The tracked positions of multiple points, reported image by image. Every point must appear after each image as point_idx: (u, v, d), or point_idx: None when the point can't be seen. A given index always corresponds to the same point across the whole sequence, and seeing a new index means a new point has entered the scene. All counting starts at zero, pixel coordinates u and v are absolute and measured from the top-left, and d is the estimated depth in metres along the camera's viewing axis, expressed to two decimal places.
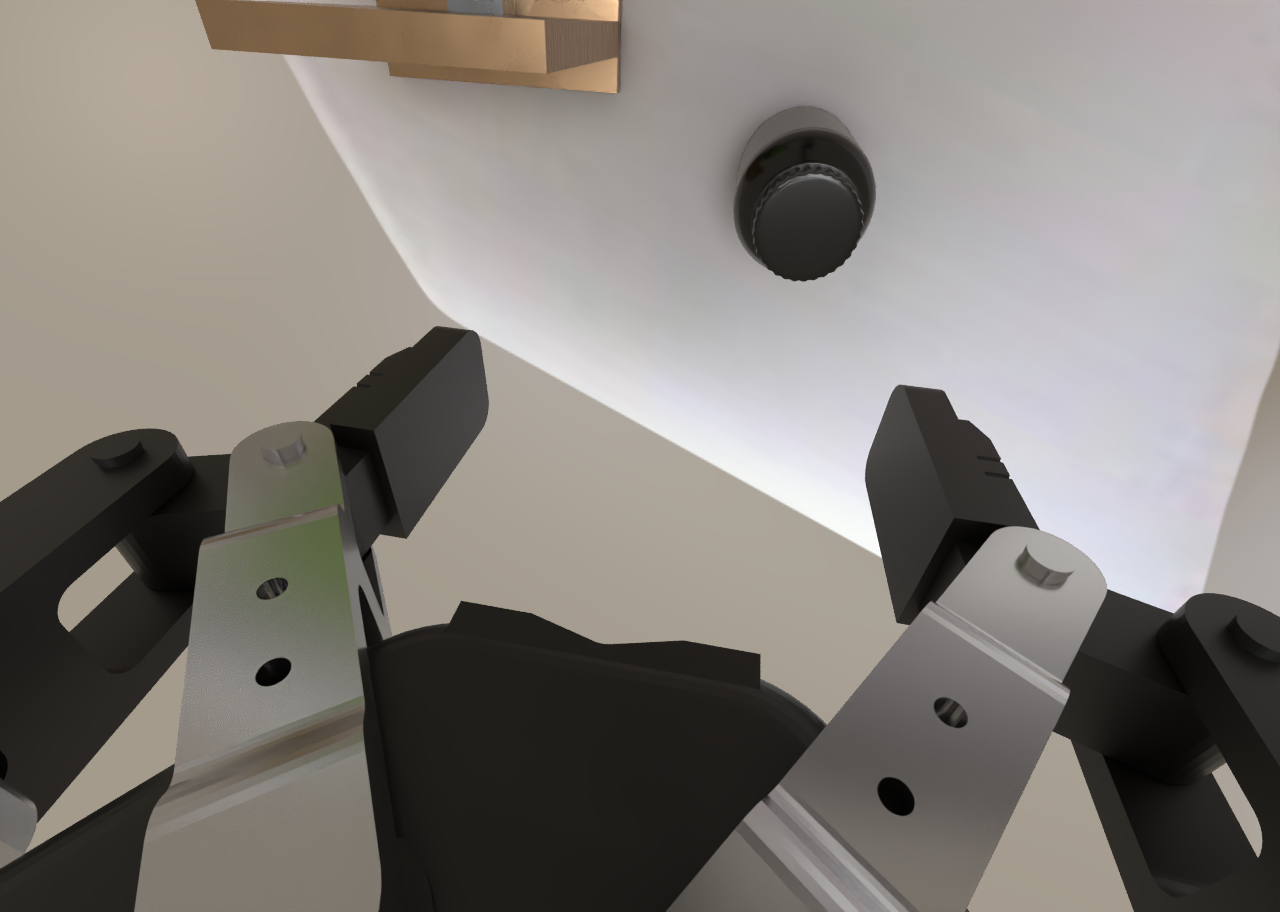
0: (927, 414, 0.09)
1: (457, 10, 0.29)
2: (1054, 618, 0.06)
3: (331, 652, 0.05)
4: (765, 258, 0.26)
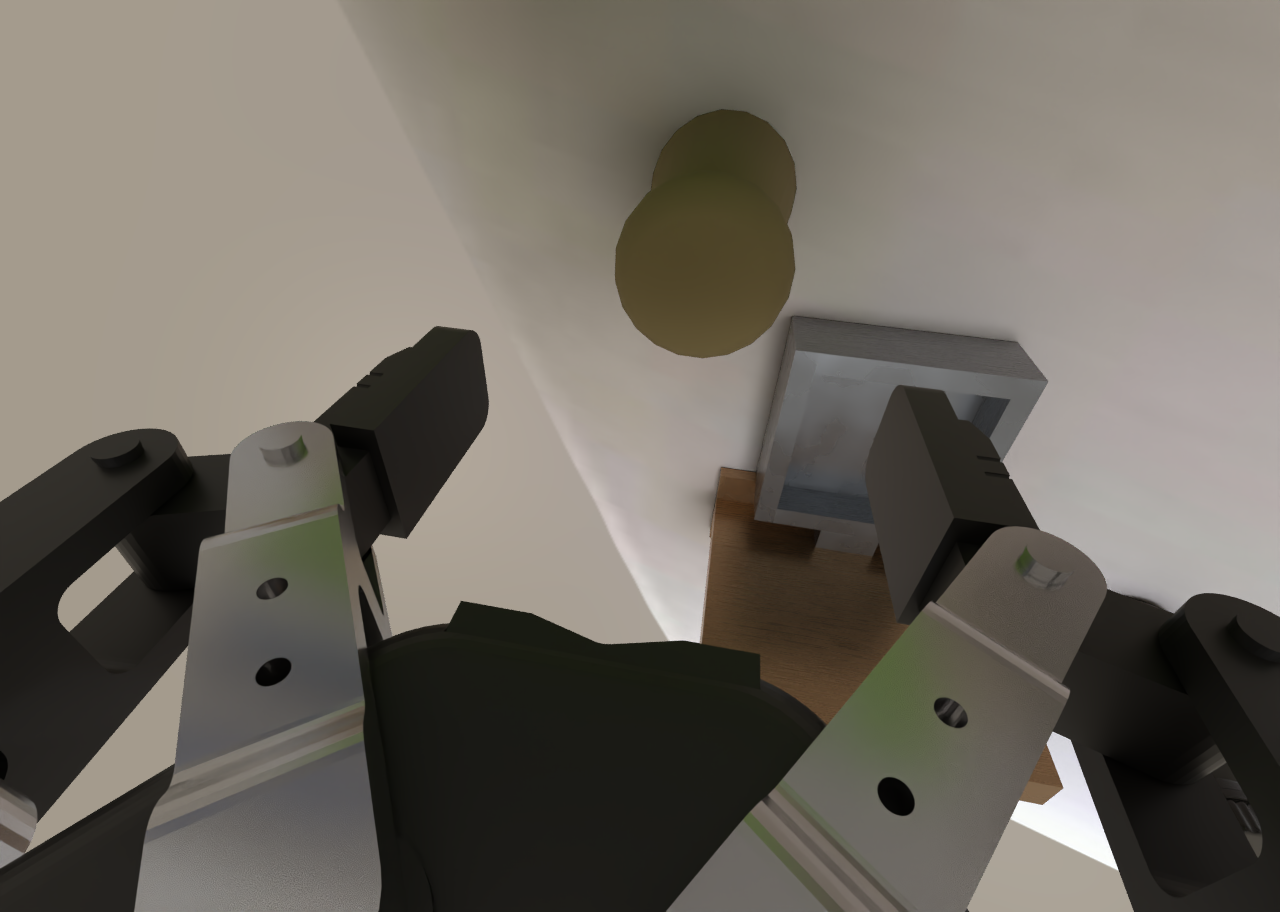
0: (927, 414, 0.09)
1: (825, 548, 0.30)
2: (1054, 618, 0.06)
3: (330, 653, 0.05)
4: None
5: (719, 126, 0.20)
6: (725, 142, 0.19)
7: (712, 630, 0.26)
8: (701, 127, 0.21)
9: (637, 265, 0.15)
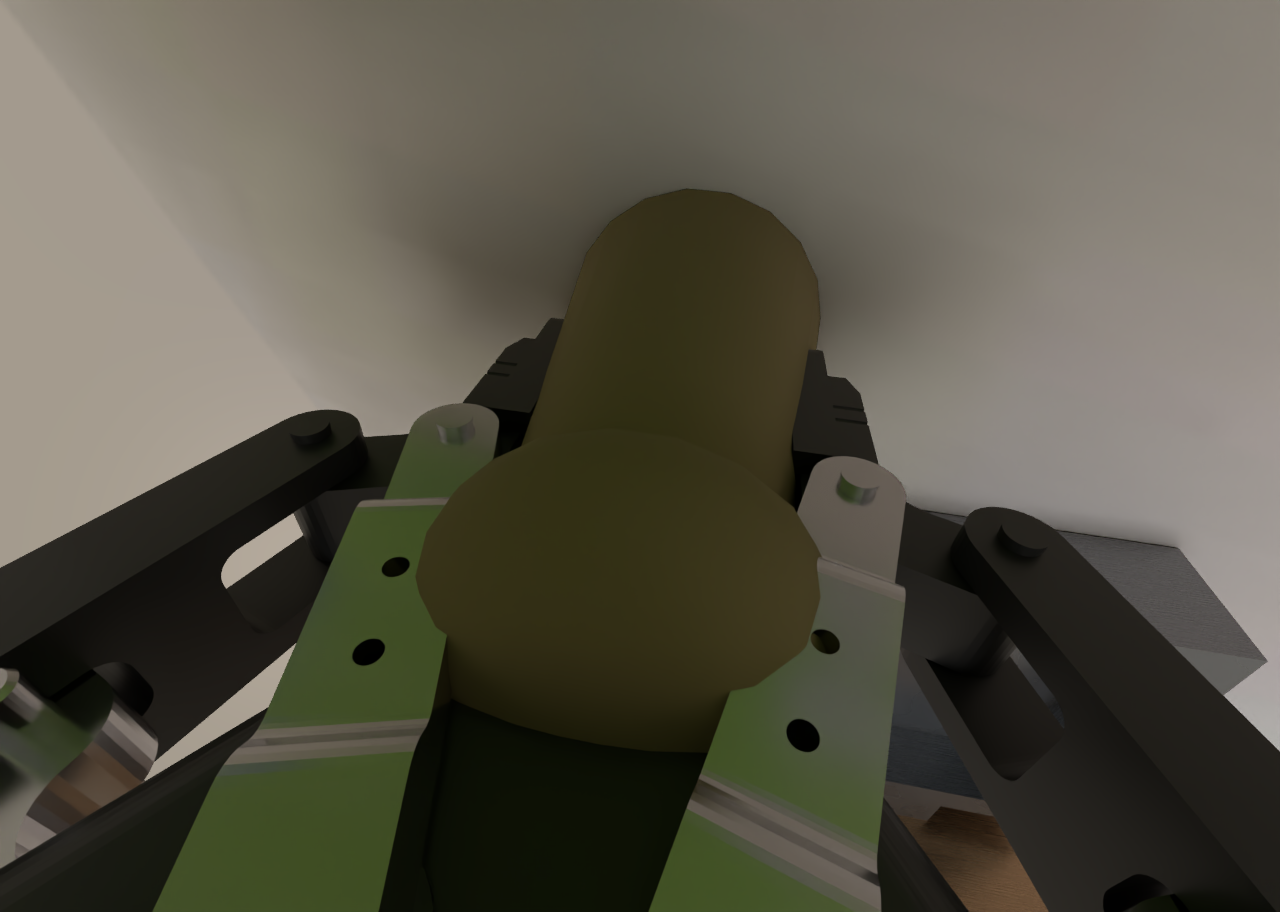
0: None
1: None
2: (849, 524, 0.07)
3: (419, 651, 0.05)
4: None
5: (678, 232, 0.11)
6: (684, 279, 0.09)
7: None
8: (646, 230, 0.11)
9: None
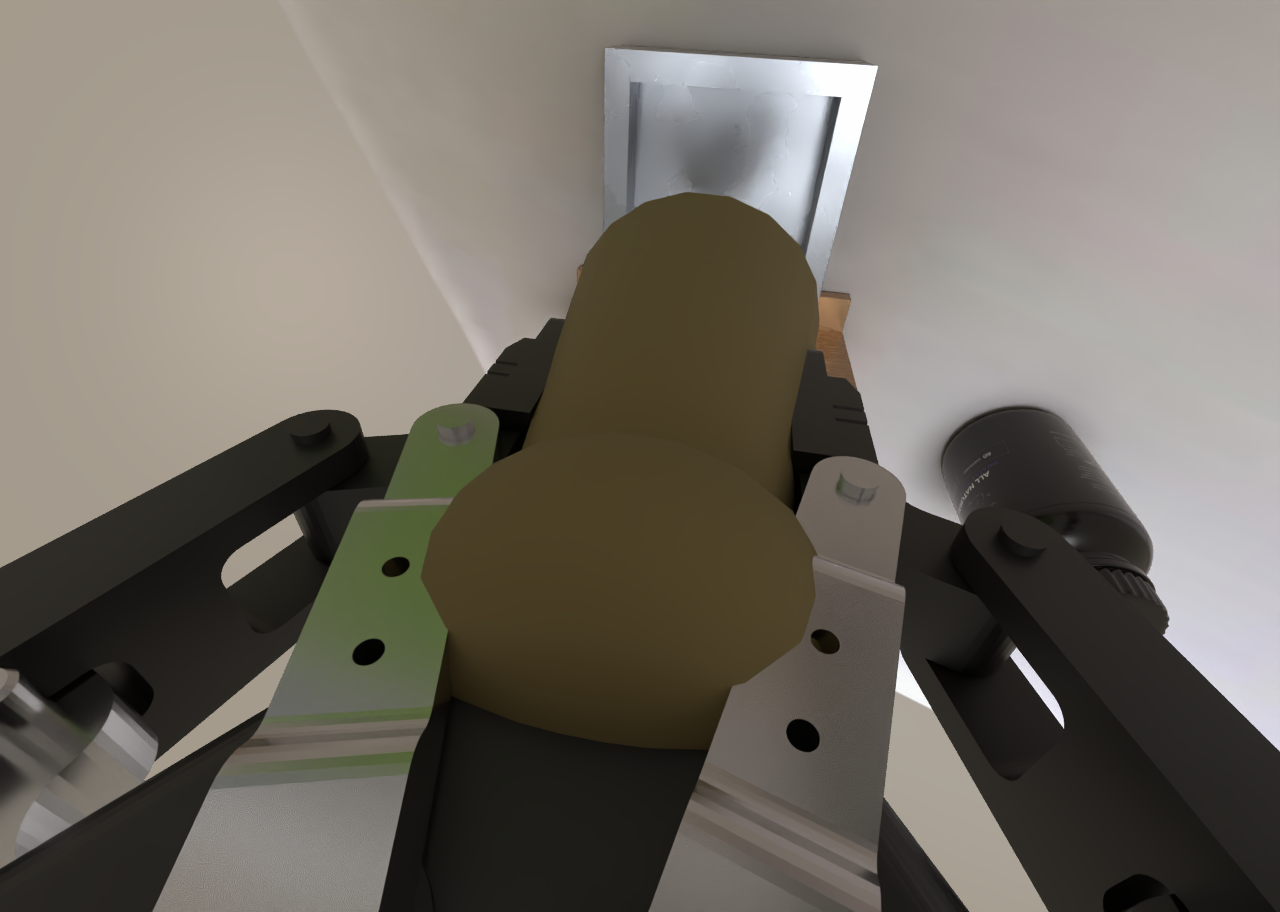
0: None
1: None
2: (849, 523, 0.07)
3: (421, 650, 0.05)
4: None
5: (678, 235, 0.11)
6: (684, 283, 0.09)
7: None
8: (646, 233, 0.11)
9: None
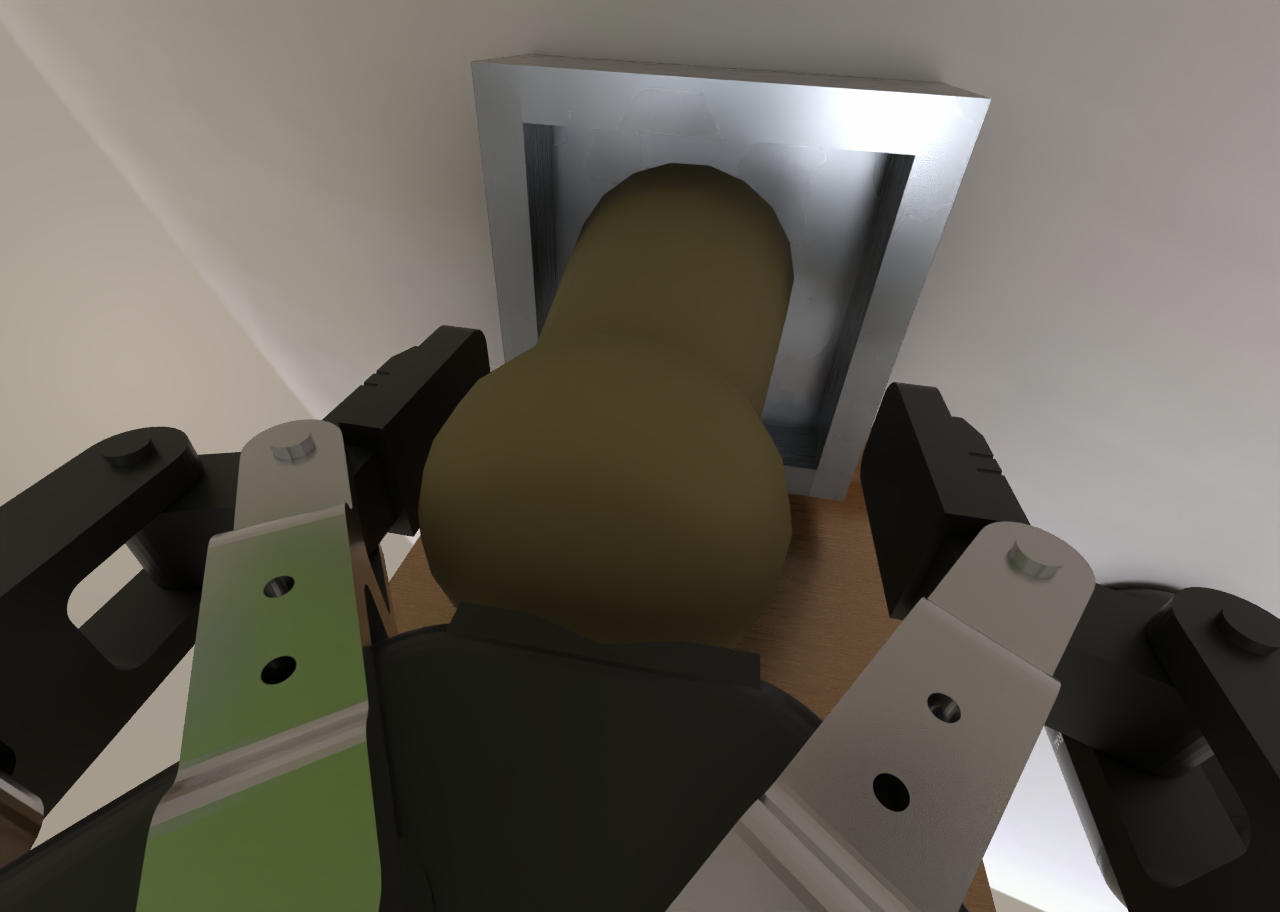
0: (920, 411, 0.09)
1: None
2: (1042, 611, 0.06)
3: (336, 652, 0.05)
4: None
5: (661, 197, 0.12)
6: (665, 233, 0.11)
7: None
8: (633, 197, 0.13)
9: (445, 553, 0.07)
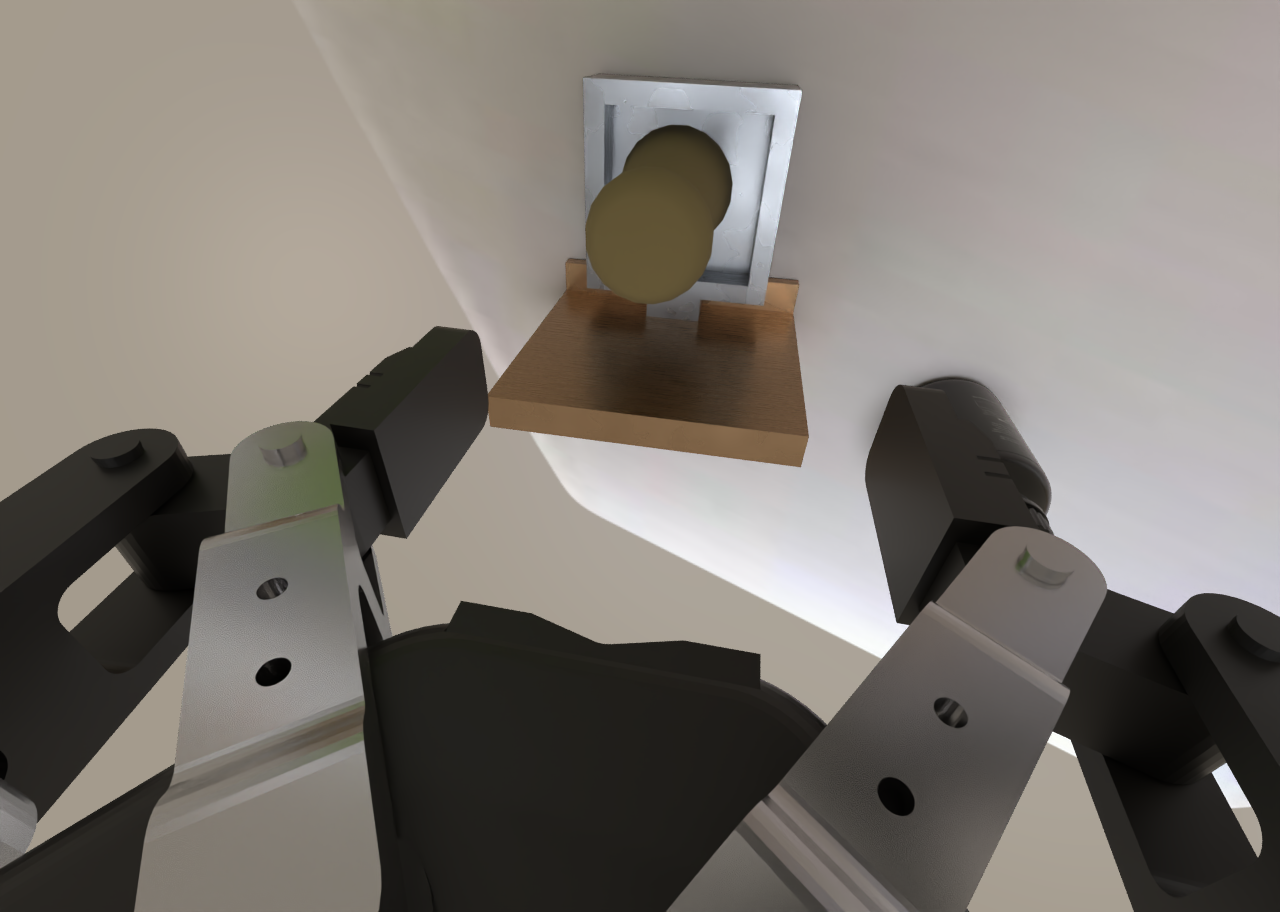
0: (927, 414, 0.09)
1: (655, 316, 0.32)
2: (1054, 618, 0.06)
3: (330, 653, 0.05)
4: None
5: (666, 137, 0.27)
6: (668, 148, 0.25)
7: (526, 355, 0.28)
8: (653, 138, 0.27)
9: (599, 234, 0.22)
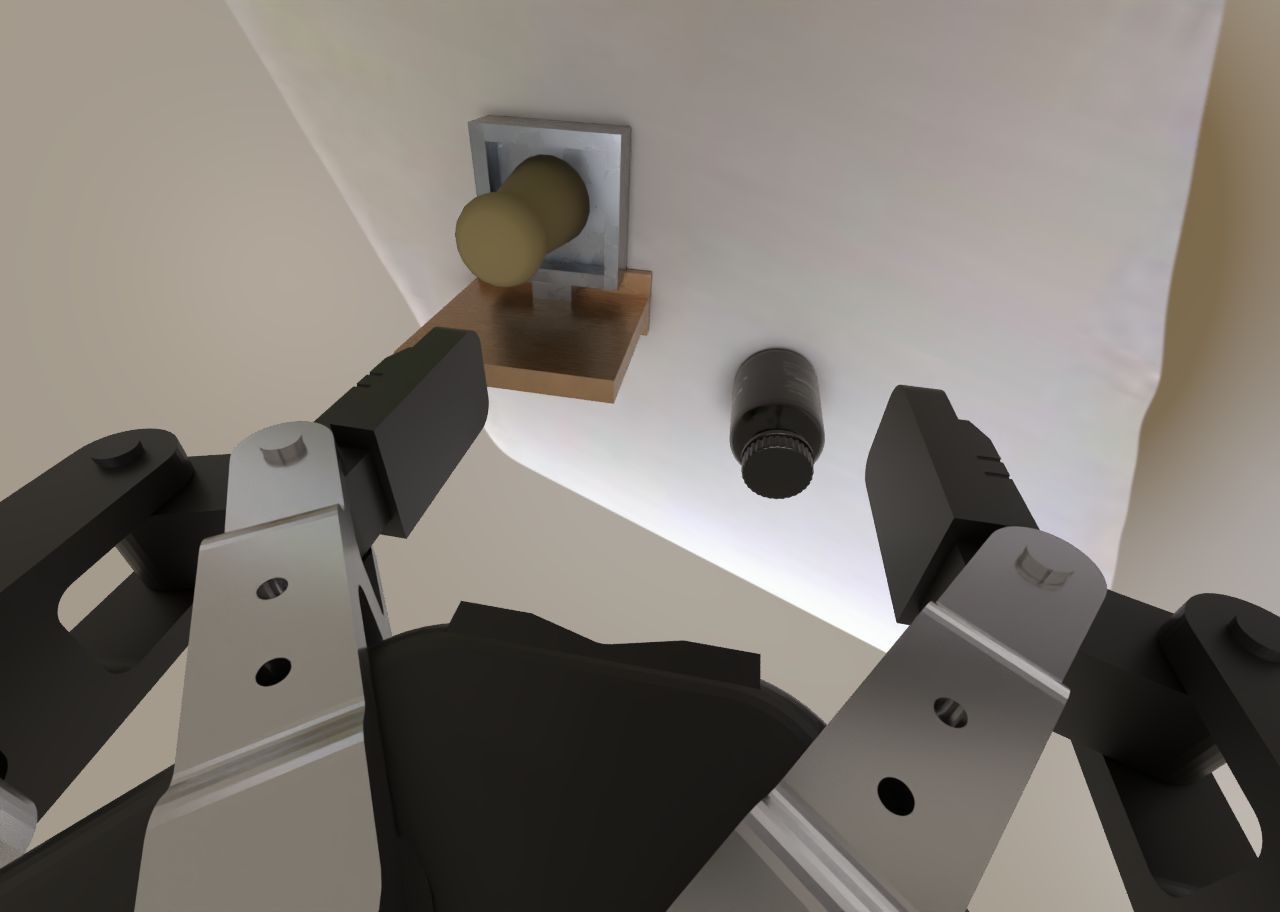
0: (927, 414, 0.09)
1: (539, 297, 0.42)
2: (1054, 618, 0.06)
3: (330, 653, 0.05)
4: (750, 485, 0.39)
5: (530, 165, 0.37)
6: (526, 175, 0.35)
7: (430, 325, 0.38)
8: (522, 165, 0.37)
9: (461, 238, 0.32)
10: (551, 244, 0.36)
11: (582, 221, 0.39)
